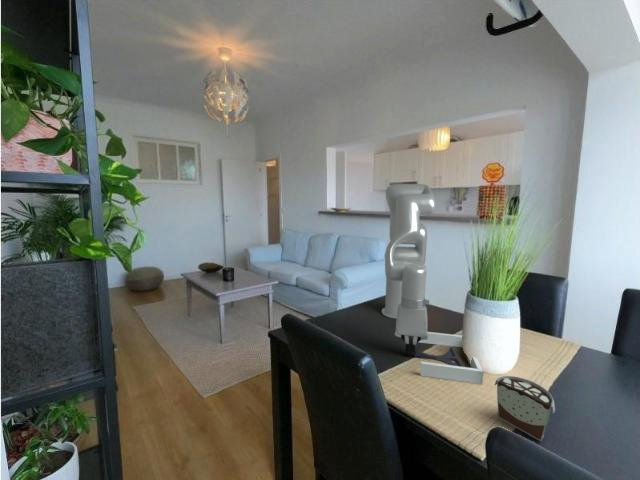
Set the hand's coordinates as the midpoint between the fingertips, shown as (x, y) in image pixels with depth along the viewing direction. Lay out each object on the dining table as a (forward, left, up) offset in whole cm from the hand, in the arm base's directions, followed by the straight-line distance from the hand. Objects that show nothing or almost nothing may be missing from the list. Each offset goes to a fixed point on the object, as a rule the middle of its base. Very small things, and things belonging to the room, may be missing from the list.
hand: (410, 353), depth 105 cm
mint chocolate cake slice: (+26, +26, -1) cm, 37 cm away
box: (0, +11, -1) cm, 11 cm away
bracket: (0, +9, -2) cm, 9 cm away
